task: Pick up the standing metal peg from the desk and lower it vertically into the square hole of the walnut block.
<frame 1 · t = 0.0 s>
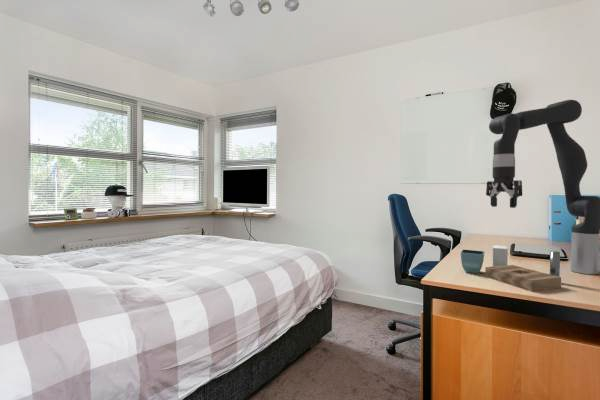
hand: (503, 207, 127), 29 cm above the table, fingers open, 8 cm apart
peg: (554, 282, 125), on the table
flower pot: (472, 272, 141), on the table
small box: (499, 270, 144), on the table
hole block: (520, 282, 126), on the table
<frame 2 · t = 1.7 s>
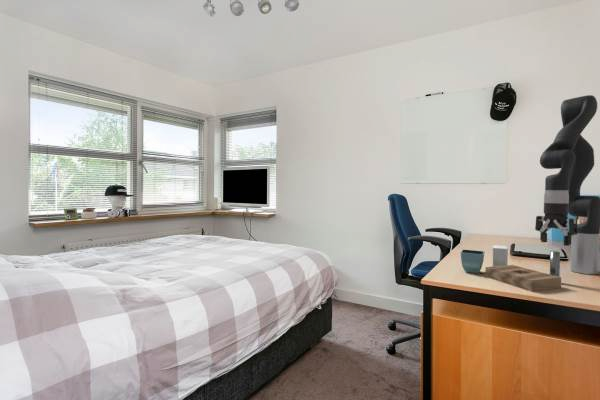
hand: (555, 243, 124), 15 cm above the table, fingers open, 8 cm apart
nothing on the table moved.
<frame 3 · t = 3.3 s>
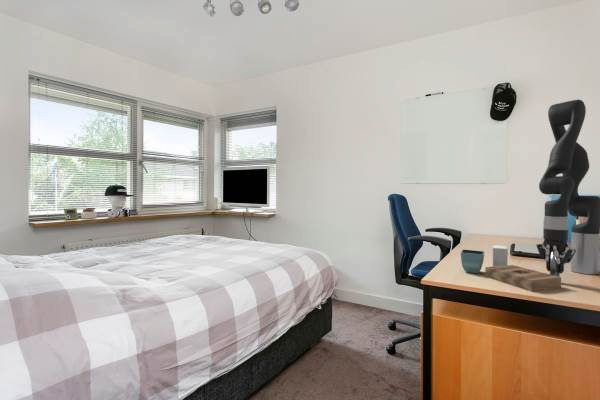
hand: (554, 271, 125), 4 cm above the table, fingers closed on peg, 3 cm apart
peg: (554, 282, 125), on the table, touching gripper
everything else where it was.
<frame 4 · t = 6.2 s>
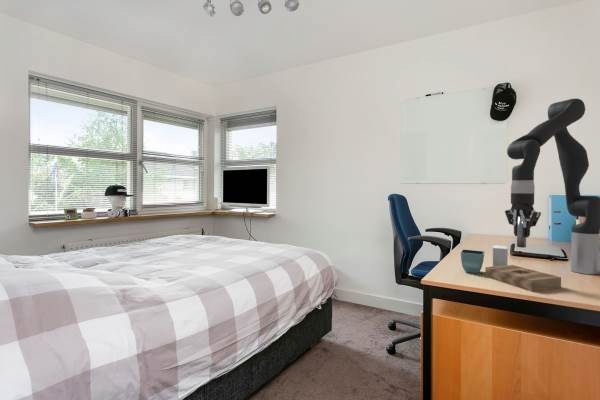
hand: (521, 236, 125), 18 cm above the table, fingers closed on peg, 3 cm apart
peg: (521, 246, 125), point 14 cm above the table, touching gripper
everything else where it was.
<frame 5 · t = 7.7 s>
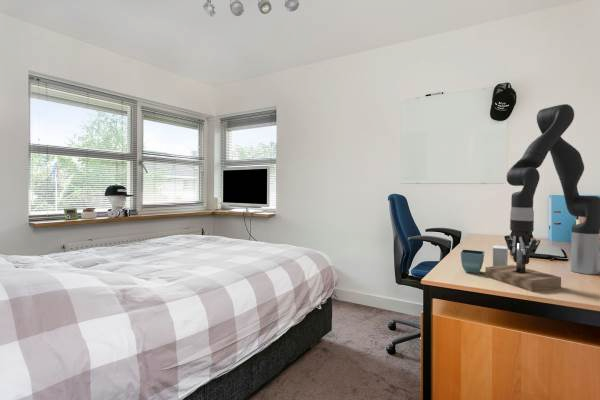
hand: (520, 262, 125), 8 cm above the table, fingers closed on peg, 3 cm apart
peg: (520, 273, 125), point 3 cm above the table, touching gripper
everything else where it was.
when the fingers open (6 cm above the table, at t = 9.0 s): peg drops 1 cm, resting in hole block.
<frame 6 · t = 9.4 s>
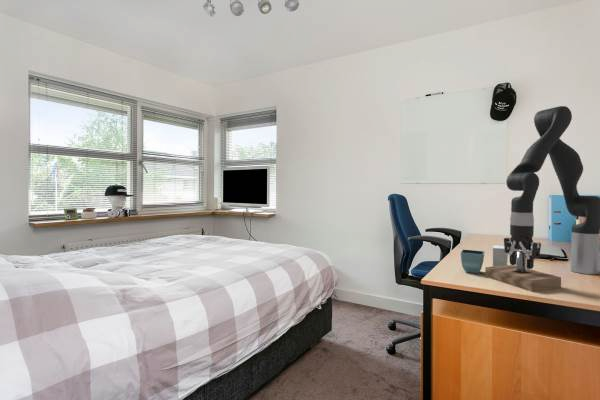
hand: (521, 266, 125), 6 cm above the table, fingers open, 6 cm apart
peg: (520, 282, 125), resting in hole block
everything else where it was.
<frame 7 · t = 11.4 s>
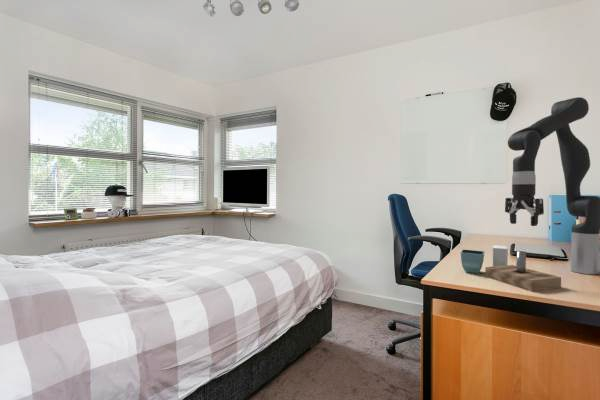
hand: (523, 224, 125), 22 cm above the table, fingers open, 8 cm apart
nothing on the table moved.
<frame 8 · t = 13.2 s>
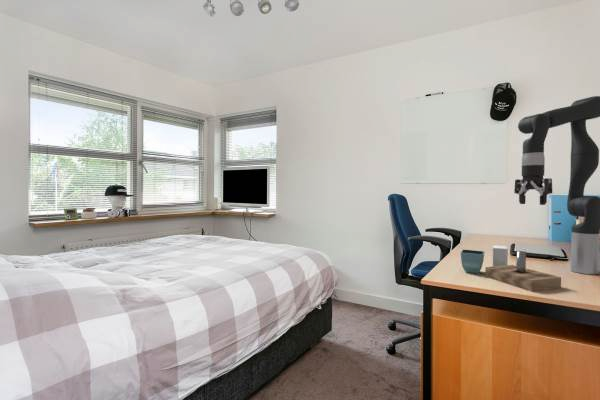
hand: (532, 204, 131), 30 cm above the table, fingers open, 8 cm apart
nothing on the table moved.
at the end: peg 0.0 cm off-centre on the hole block, point 0.0 cm above the hole block's base; peg tilted 0°; the gripper is holding nothing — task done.
